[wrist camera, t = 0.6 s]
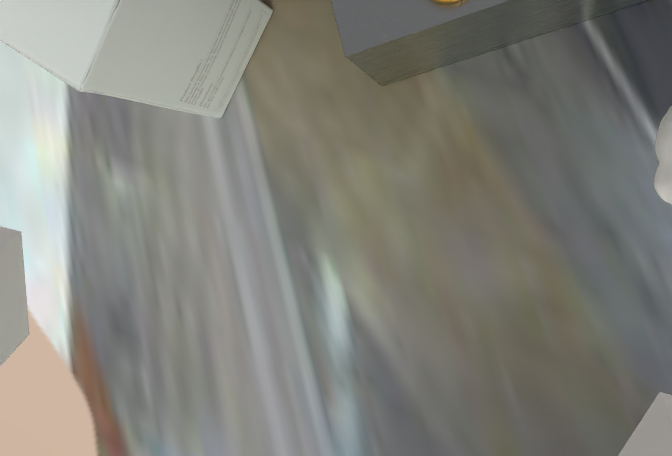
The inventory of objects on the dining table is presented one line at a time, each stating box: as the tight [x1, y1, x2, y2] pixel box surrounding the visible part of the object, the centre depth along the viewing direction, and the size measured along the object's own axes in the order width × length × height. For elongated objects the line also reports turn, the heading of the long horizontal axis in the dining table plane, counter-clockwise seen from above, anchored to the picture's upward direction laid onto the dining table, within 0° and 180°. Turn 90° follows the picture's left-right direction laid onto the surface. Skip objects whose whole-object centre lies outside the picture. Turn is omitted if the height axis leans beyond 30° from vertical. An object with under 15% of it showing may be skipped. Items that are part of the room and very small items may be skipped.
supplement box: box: [0, 0, 273, 118], centre depth 30 cm, size 7×7×13 cm
